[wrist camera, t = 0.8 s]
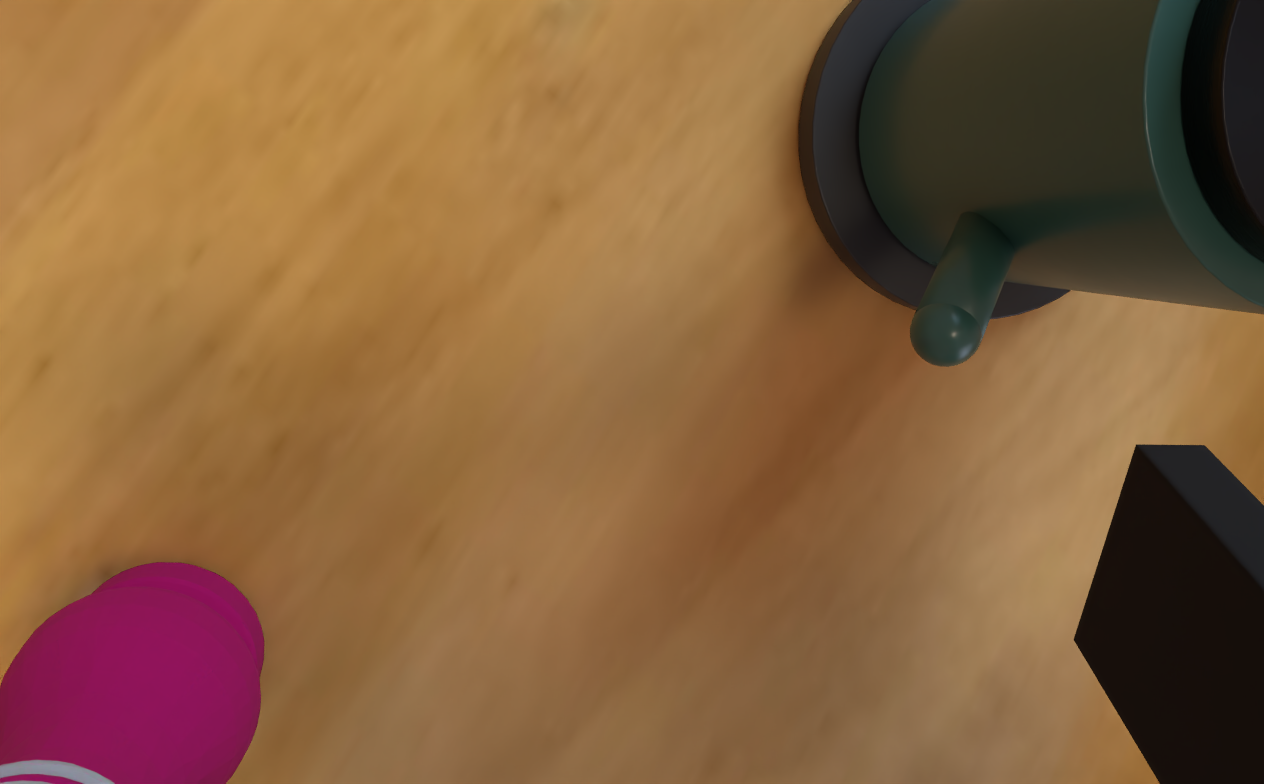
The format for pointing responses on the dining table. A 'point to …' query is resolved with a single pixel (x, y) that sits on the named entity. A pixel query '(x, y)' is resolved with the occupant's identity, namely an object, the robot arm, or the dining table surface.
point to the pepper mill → (136, 684)
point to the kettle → (1070, 154)
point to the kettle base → (839, 173)
